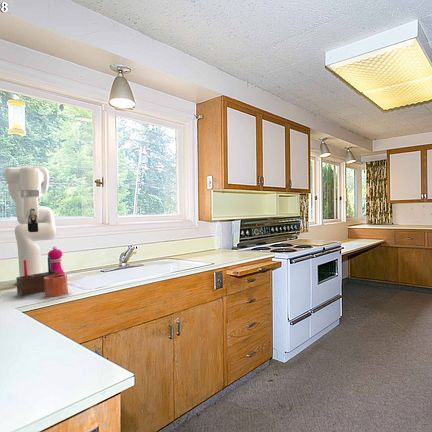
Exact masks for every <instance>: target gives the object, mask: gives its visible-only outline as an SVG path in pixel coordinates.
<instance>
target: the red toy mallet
mask: <svg viewBox="0 0 432 432" xmlns="http://www.w3.org/2000/svg"><path fill="white" fill-rule="evenodd" d="M24 277H25V278H26V277H28V274H27V260H24Z"/></svg>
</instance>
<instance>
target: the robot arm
mask: <svg viewBox="0 0 432 432" xmlns="http://www.w3.org/2000/svg"><path fill="white" fill-rule="evenodd" d="M3 176H4V181H5V182H6V183H7V190H8V193H9V196H10V198H11V199H12V201H13V202H14V205H15V213H16V220H17V223H19V224H18V225H16V227H14V236H15V240H16V244H17V245H16V246H17V257H18V258H17V259H18V273H19V274H18V275H19V276H18V277H21V276H24V260H27V274H28V275H33V274H39V273H43V263H42V249H41V247H40V245H38V244H37V243H36V242H38V241H39V242H40V241H49V240H53V239H55V238H56V237H57V226H56V221H55V215H54V211H53V210H52V209H51V208H50V207H45V206H42V207H39V205H40V204H39V199H42V195H43V194H46V193H47V192H48V191H49V182H50V172H49V170H48V168H47V167H46V166H43V165H29V164H28V165H26V164H22V165H19V166H12V167H11V166H10V167H6V169H4V175H3ZM15 284H16V285H17V281H15Z"/></svg>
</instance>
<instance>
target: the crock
mask: <svg viewBox="0 0 432 432" xmlns="http://www.w3.org/2000/svg"><path fill="white" fill-rule="evenodd" d="M68 286H69V283H68V274H66V273H65V274H58V275H51V276H47V277H44V291H45V292H44V297H45V298H57V297H62V296H65V295H67V294H69V287H68Z"/></svg>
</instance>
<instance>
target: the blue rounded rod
mask: <svg viewBox="0 0 432 432" xmlns="http://www.w3.org/2000/svg"><path fill="white" fill-rule="evenodd" d="M47 272H48V274H49V273H51V258H50V257H48V256H47Z"/></svg>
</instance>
